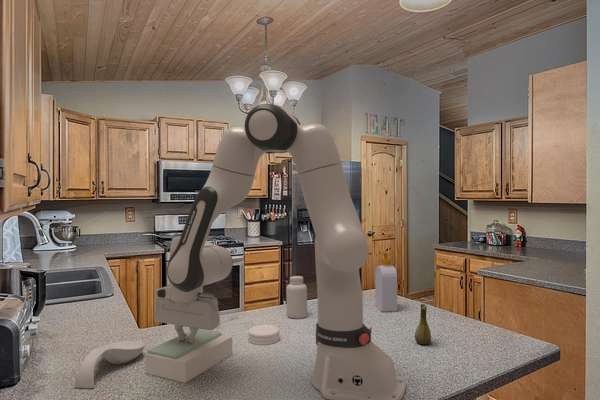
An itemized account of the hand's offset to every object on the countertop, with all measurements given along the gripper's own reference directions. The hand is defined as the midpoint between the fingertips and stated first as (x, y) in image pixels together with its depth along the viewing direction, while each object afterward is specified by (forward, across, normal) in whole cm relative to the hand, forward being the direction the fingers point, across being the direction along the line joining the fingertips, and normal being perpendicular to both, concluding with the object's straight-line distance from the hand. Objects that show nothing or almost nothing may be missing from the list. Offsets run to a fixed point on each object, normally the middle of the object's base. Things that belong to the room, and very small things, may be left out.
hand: (186, 341), depth 108 cm
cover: (+1, 0, 0) cm, 1 cm away
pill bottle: (+6, -10, -51) cm, 53 cm away
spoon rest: (+6, +16, +11) cm, 21 cm away
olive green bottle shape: (+6, -58, -41) cm, 71 cm away
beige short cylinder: (+6, -11, -24) cm, 27 cm away
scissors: (+6, +12, -31) cm, 34 cm away
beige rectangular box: (+6, 0, 0) cm, 6 cm away
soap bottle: (+6, -39, -74) cm, 84 cm away
